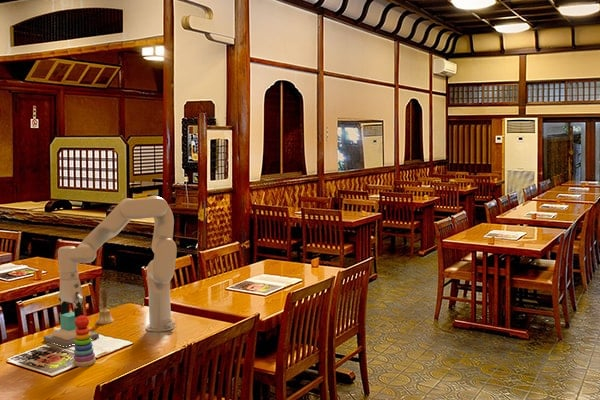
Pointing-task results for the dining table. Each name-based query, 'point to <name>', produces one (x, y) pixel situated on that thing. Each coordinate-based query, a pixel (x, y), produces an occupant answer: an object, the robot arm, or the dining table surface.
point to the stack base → (66, 342)
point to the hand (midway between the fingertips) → (71, 314)
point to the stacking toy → (83, 343)
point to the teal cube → (68, 321)
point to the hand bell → (104, 311)
